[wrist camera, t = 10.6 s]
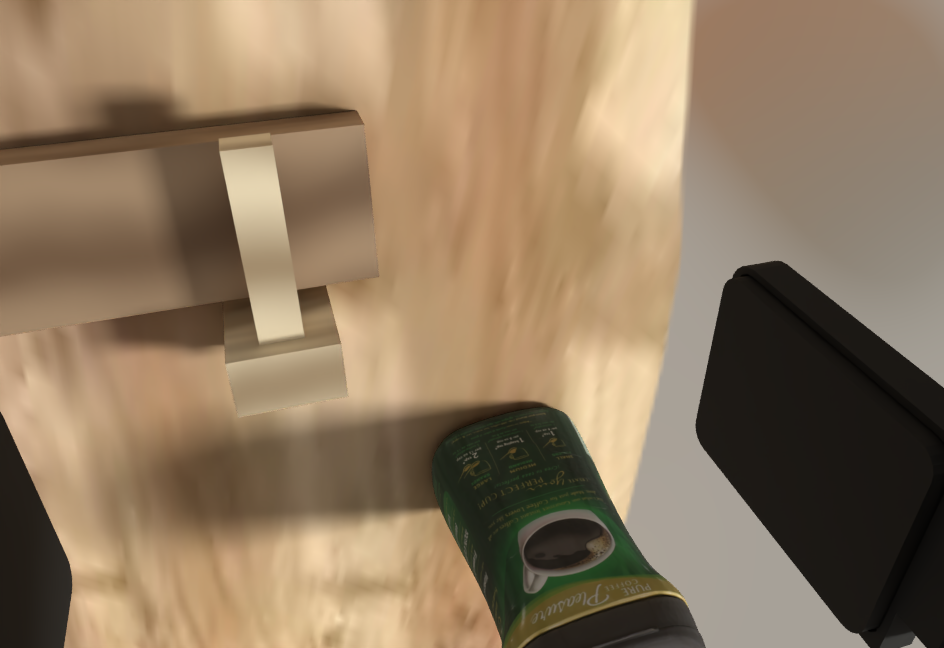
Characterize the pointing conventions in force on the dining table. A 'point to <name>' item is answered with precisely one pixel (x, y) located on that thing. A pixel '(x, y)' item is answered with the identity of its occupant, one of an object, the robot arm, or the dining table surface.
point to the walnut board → (171, 220)
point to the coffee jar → (551, 539)
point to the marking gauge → (273, 298)
